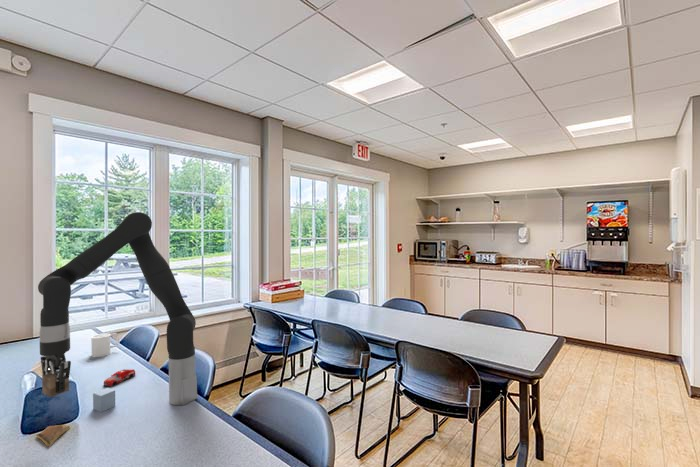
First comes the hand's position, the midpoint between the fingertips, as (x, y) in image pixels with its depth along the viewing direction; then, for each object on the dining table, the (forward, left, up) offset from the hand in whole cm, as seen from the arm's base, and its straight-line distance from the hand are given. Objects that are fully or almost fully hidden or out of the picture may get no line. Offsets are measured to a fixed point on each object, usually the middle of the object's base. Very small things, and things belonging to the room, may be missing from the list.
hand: (55, 390), depth 112 cm
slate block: (+5, -17, -15) cm, 23 cm away
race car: (+24, -34, -15) cm, 44 cm away
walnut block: (0, 0, -1) cm, 1 cm away
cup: (+67, -50, -15) cm, 85 cm away
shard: (0, 0, -15) cm, 15 cm away
